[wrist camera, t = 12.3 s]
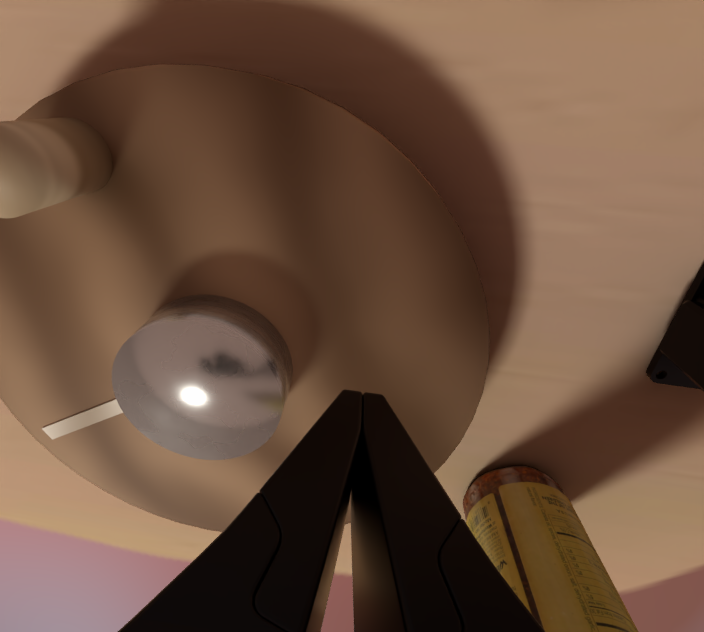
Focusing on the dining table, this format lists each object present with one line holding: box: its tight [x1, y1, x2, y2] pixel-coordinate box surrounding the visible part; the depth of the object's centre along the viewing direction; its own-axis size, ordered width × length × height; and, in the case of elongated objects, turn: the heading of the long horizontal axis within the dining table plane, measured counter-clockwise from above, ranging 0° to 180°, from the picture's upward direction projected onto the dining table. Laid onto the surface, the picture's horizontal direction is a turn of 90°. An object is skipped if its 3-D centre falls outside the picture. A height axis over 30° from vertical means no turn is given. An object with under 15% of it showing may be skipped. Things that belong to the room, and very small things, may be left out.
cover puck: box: [112, 294, 293, 460], centre depth 19 cm, size 7×7×2 cm
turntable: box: [0, 64, 490, 532], centre depth 19 cm, size 24×24×6 cm
